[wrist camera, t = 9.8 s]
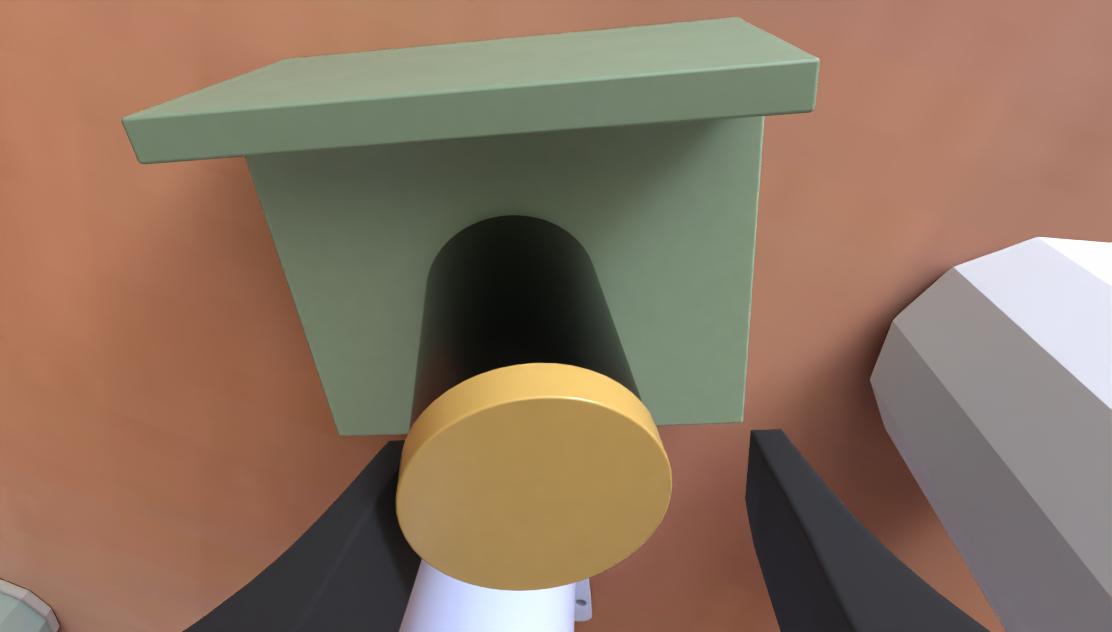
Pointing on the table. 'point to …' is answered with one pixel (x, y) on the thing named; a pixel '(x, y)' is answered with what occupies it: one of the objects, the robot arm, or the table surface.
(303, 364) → the table surface
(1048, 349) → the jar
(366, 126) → the shelf
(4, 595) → the disposable coffee cup
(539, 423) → the canister
